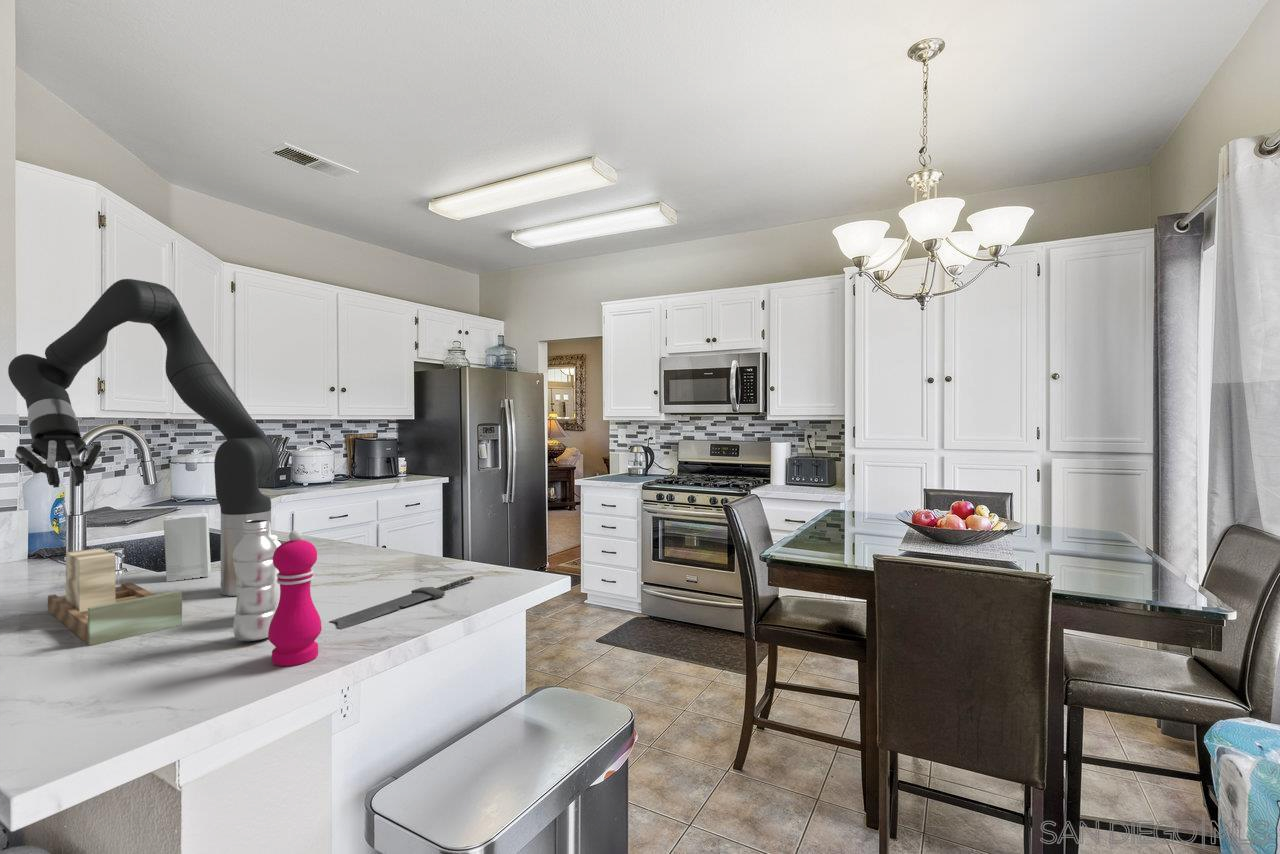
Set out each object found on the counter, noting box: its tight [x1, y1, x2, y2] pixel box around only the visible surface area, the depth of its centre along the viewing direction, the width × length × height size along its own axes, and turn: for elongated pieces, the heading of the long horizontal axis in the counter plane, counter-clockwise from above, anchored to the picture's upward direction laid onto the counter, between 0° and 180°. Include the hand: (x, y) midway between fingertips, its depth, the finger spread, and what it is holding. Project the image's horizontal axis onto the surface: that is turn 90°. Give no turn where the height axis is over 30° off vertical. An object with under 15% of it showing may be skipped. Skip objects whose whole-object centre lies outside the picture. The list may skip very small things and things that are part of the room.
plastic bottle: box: [232, 520, 277, 642], centre depth 101 cm, size 6×7×20 cm
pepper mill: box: [267, 529, 323, 667], centre depth 93 cm, size 7×7×20 cm
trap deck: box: [47, 581, 183, 646], centre depth 112 cm, size 30×12×6 cm, turn 54°
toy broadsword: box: [328, 575, 475, 630], centre depth 123 cm, size 7×35×2 cm, turn 151°
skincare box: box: [163, 512, 212, 583], centre depth 141 cm, size 8×6×15 cm
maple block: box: [65, 547, 116, 612], centre depth 113 cm, size 10×5×10 cm, turn 54°
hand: (67, 483), depth 123 cm, fingers open, 2 cm apart
